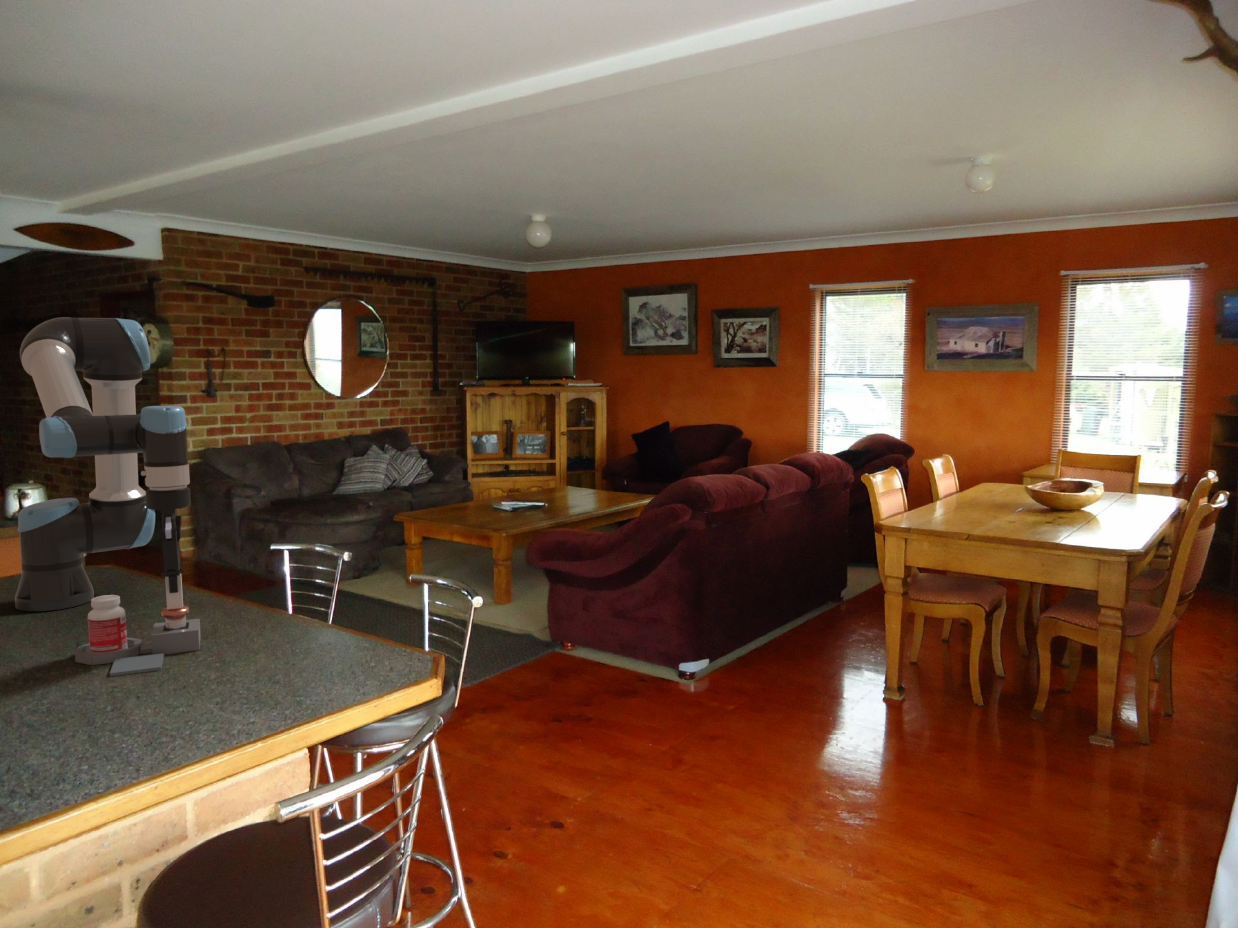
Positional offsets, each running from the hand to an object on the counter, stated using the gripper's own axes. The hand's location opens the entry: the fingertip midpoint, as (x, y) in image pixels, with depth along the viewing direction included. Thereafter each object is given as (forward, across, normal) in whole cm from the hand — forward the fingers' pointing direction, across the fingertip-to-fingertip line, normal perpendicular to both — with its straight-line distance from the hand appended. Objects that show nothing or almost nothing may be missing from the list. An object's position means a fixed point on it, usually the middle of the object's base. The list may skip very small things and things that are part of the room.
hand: (175, 607), depth 168 cm
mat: (+8, +9, -6) cm, 13 cm away
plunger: (+6, 0, 0) cm, 6 cm away
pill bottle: (+8, 0, -12) cm, 14 cm away
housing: (+8, 0, -6) cm, 10 cm away
